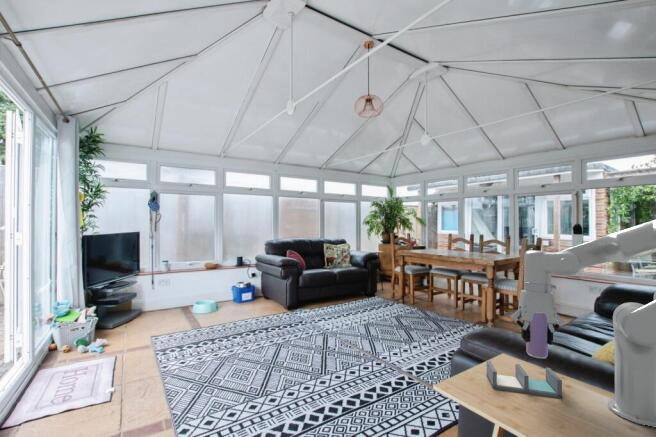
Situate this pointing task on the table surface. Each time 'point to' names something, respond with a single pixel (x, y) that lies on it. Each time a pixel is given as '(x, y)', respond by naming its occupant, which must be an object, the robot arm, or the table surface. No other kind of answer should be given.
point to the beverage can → (538, 336)
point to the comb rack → (525, 382)
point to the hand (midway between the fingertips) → (536, 341)
